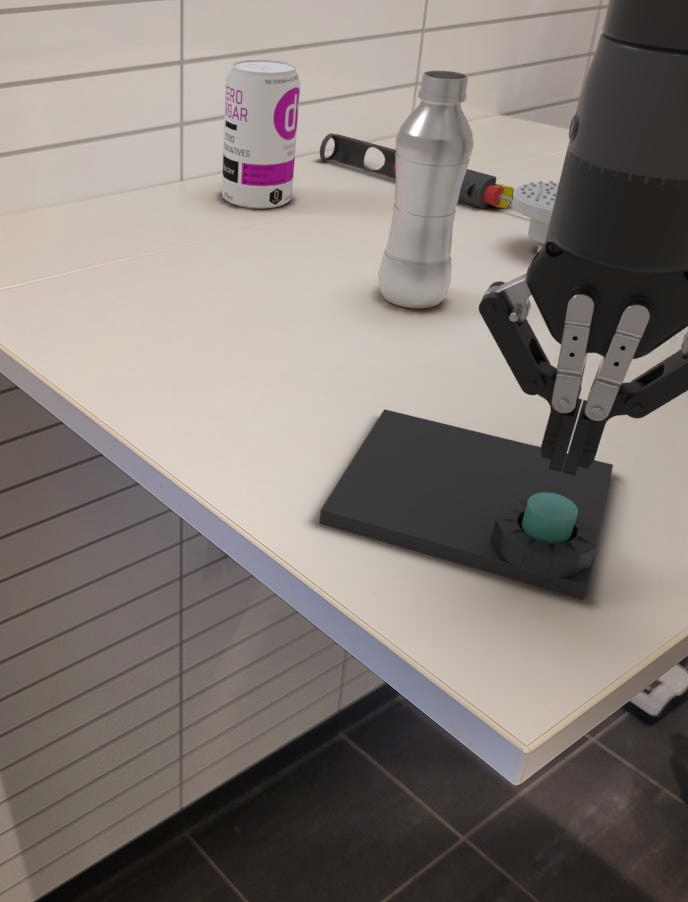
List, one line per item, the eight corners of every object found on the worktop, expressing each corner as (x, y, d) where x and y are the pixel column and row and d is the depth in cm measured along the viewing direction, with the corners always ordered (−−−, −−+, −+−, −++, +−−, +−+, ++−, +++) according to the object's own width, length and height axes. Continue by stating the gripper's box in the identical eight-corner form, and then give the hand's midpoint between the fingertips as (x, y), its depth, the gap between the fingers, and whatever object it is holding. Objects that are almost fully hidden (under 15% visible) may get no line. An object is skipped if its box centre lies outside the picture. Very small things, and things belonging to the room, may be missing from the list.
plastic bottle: (422, 323, 84) (461, 88, 73) (360, 301, 88) (389, 73, 77) (459, 303, 88) (502, 76, 77) (398, 282, 92) (431, 63, 81)
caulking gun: (364, 134, 129) (318, 131, 122) (619, 202, 107) (581, 203, 100) (357, 164, 130) (311, 162, 124) (607, 237, 108) (568, 240, 102)
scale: (607, 481, 64) (619, 444, 63) (581, 608, 54) (595, 567, 52) (381, 425, 70) (387, 389, 68) (316, 530, 59) (321, 491, 57)
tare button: (573, 523, 56) (581, 499, 55) (567, 550, 54) (575, 525, 53) (525, 510, 57) (532, 487, 56) (517, 536, 55) (524, 512, 54)
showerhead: (619, 207, 90) (512, 194, 93) (599, 279, 94) (497, 264, 97) (618, 180, 98) (519, 168, 100) (599, 248, 102) (505, 234, 104)
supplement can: (303, 199, 113) (314, 65, 104) (268, 218, 107) (277, 77, 98) (245, 186, 116) (251, 55, 108) (208, 203, 110) (212, 66, 102)
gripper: (813, 150, 43) (693, 463, 53) (522, 112, 48) (460, 408, 58) (824, 194, 38) (687, 535, 48) (493, 147, 42) (430, 468, 52)
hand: (563, 465), depth 53 cm, fingers closed
